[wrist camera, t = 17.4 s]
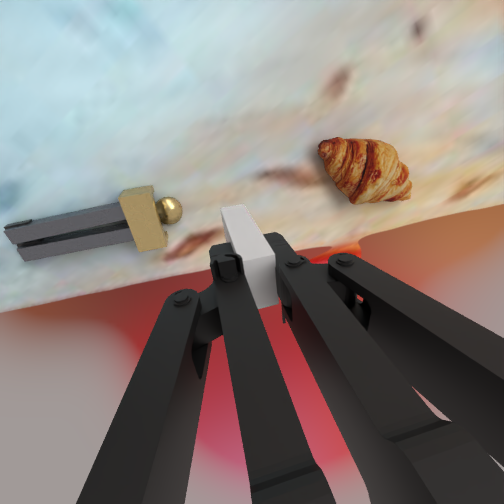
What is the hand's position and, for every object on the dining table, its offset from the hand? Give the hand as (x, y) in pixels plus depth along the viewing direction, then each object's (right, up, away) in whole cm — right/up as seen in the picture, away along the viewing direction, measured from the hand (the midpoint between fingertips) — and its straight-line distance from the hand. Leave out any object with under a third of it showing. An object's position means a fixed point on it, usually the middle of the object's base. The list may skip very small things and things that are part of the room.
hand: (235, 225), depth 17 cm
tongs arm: (-23, +3, +20) cm, 31 cm away
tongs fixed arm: (-21, +2, +22) cm, 30 cm away
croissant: (+20, +12, +28) cm, 36 cm away
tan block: (-15, +4, +22) cm, 27 cm away
